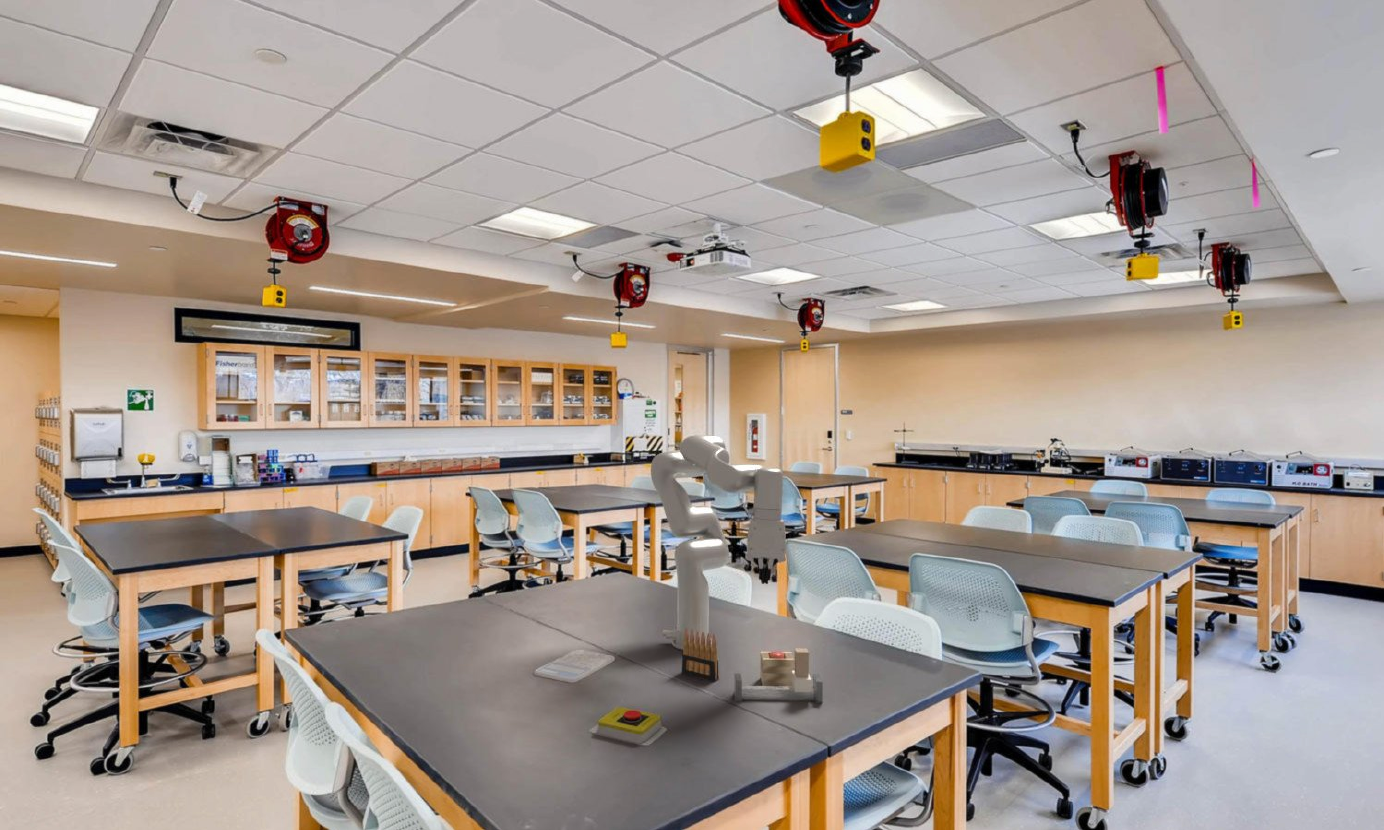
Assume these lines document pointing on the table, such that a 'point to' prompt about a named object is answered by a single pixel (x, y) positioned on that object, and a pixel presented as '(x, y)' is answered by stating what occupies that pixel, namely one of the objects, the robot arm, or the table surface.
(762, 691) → the rail
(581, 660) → the calculator
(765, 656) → the wooden box
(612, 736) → the emergency button
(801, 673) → the carriage
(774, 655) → the button
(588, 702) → the table surface
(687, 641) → the ammunition clip
